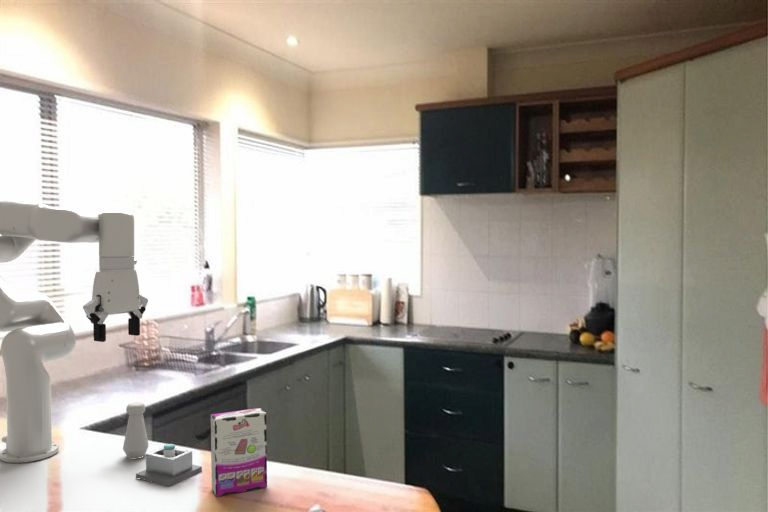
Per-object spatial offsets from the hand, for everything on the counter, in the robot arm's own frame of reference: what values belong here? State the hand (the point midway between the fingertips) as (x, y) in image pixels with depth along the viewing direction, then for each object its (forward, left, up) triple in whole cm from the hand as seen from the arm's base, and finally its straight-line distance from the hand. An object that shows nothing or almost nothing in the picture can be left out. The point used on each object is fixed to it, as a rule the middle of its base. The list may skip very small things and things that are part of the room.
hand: (117, 338), depth 145 cm
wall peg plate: (+14, +2, -30) cm, 33 cm away
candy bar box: (+33, +3, -31) cm, 45 cm away
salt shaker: (-2, +7, -31) cm, 31 cm away
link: (+14, +2, -29) cm, 33 cm away
